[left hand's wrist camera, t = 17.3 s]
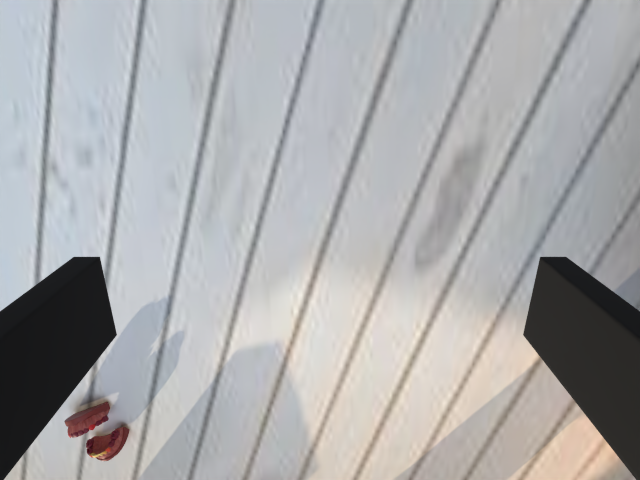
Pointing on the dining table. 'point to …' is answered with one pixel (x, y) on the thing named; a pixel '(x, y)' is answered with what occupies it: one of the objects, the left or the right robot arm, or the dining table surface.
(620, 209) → the dining table surface
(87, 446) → the dental model
